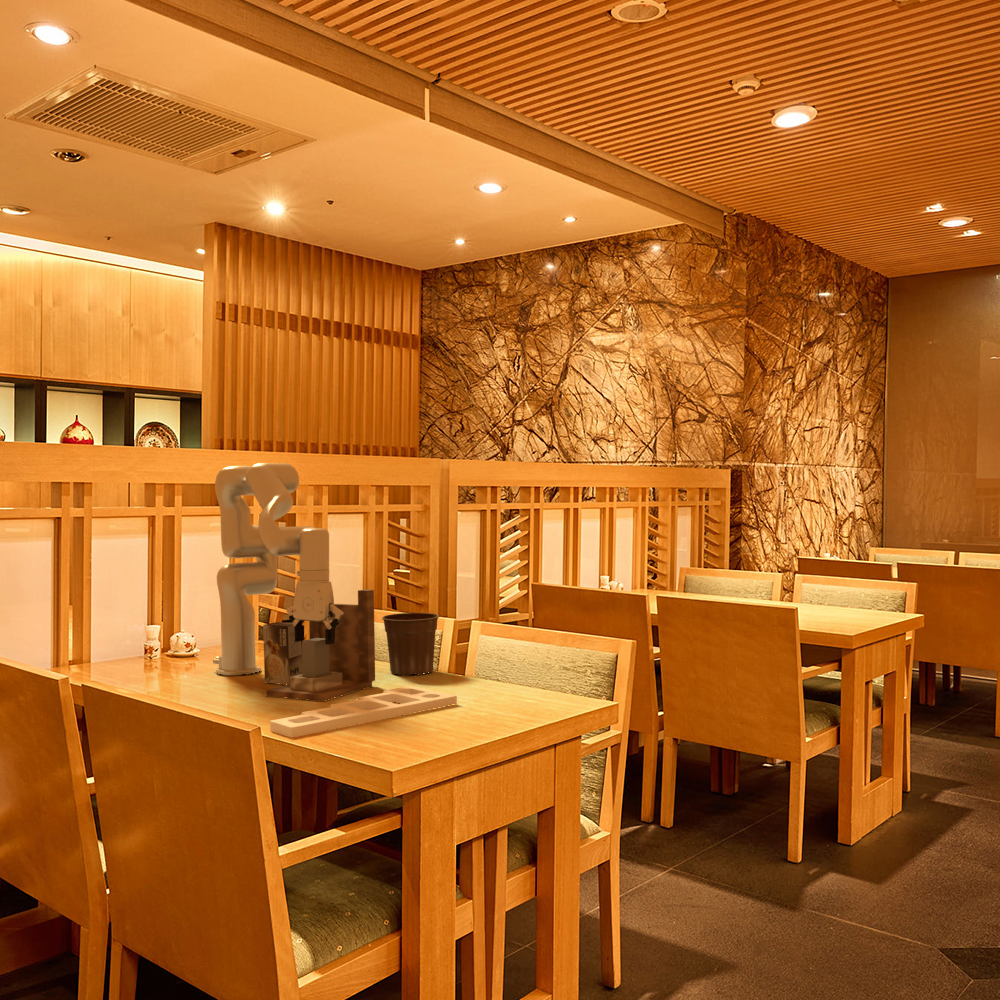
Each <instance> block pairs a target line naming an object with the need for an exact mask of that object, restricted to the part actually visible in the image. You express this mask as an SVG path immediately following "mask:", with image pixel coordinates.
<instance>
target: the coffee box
mask: <svg viewBox="0 0 1000 1000" xmlns="http://www.w3.org/2000/svg"><path fill="white" fill-rule="evenodd" d="M262 628H263V630H262V632H263V663H264V664H263V667H264V668H263V669H264V670H263V671H264V683H265V682H266V683H265V684H269V683H280V684H279V685H282V684H290V677H292V676H296V675H300V674H302V641H299V642H295V627H294V626H293V625H292V622H286V621H285V622H284V621H283V622H282V621H279V622H278V621H276V622H270V623H267V624H266V623H265V624H263V626H262Z"/></svg>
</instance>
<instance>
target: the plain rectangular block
mask: <svg viewBox="0 0 1000 1000" xmlns="http://www.w3.org/2000/svg"><path fill="white" fill-rule="evenodd" d="M325 675H329V645H326V644H325V638H314V639H310V638H308V639H304V640H303V641H302V677H310V678H318V677H322V676H325Z"/></svg>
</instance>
